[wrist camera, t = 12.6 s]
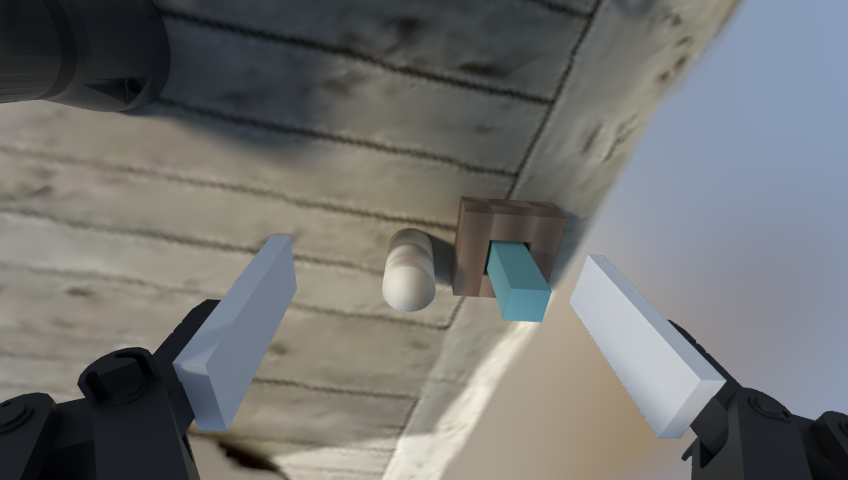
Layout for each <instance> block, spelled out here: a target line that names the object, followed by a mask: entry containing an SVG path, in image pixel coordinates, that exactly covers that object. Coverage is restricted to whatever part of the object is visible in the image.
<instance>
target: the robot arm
mask: <svg viewBox="0 0 848 480" xmlns="http://www.w3.org/2000/svg"><path fill="white" fill-rule="evenodd" d="M169 64H170V54H169V45H168V40H167V36H166V32H165V29H164V26H163V23H162V21H161V18H160V16H159V14H158V12H157V10H156V8H155V6H154V4H153V3H152V1H151V0H0V103H8V102H18V101H27V100H39V99H42V100H47V101H51V102H56V103H60V104H65V105H69V106H74V107H78V108H83V109H87V110H93V111H101V112H114V111H122V110H129V109H134V108H138V107H141V106H143V105H146V104H147V103H149V102H150V101H152V100H153V99H154V98H155V97H156V96H157V95H158V94H159V93H160V91H161V90H162V88H163V87H164V84H165V82H166V79H167V76H168V72H169ZM296 289H297V286H296V278H295V269H294V261H293V252H292V244H291V236H279V235H272V236H271V237H270V238H269V239H268V241H267V242H266V243H265V245H264V246H263V247H262V249H261V250H260V251H259V252H258V254H257V255H256V256H255V258H254V259H253V260H252V261H251V263H250V264H249V265H248V267H247V268H246V269H245V270H244V272H243V273H242V274H241V276H240V277H239V278H238V279H237V281H236V282H235V283H234V285H233V286H232V287H231V288H230V290H229V291H228V292H227V294H226V295H225V296H224V297H223V299H222V300H210V299H207V300H205V301H204V302H202V303H201V304H199V305H198V306H196V307H195V308H193V309H192V310H191V311H190V312H189V313H188V314H187V316H186V317H185V318H184V319H183V320H182V323H180V324H179V325H178V326H177V327H176V328H175V330H174V331H173V333H171V334H170V335H169V336H168V338H167V339H166V340H165V341H164V342H163V343H162V345H161V346H160V347H159V348H158V349H157V350H156V351H155V353H154V354H153V355H152V354H151V353H150V352H149V350H147V349H144V348H141V347H132V348H125V349H121V350H117V351H114V352H111V353H109V354H107V355H105V356H103V357H101V358H99V359H98V360H96V361H95V362H93V363H92V364H90V365H89V366H88V367H87V368H86V369H85V370H84V371H83V373H82V374H81V375H80V377H79V380H78V383H77V385H78V386H79V388H80V390H81V391H82V393H83V394H84V396H85V397H86V398H82V399H77V400H73V401H68V402H64V403H59V404H56V403H55V402H54V400H53V399H52V398H51V397H50V396H49V395H48V394H46V393H39V392H36V393H30V394H23V395H20V396H18V397H15V398H12V399H9V400H6V401H4V402H3V403H1V404H0V480H200V477H199V474H198V470H197V467H196V463H195V460H194V457H193V453H192V450H191V447H190V443H189V439H188V437H187V434H186V431H187V429H188V428H189V426H190V424H191V423H192V421H193V419H195V421H196V424H197V426H198V429H199V430H211V431H227V430H228V428H229V426H230V424H231V422H232V420H233V418H234V416H235V414H236V412H237V409H238V407H239V405H240V403H241V401H242V399H243V397H244V395H245V393H246V391H247V389H248V387H249V385H250V383H251V381H252V379H253V377H254V375H255V373H256V371H257V369H258V367H259V365H260V363H261V360H262V358H263V356H264V354H265V352H266V350H267V348H268V346H269V344H270V342H271V340H272V338H273V336H274V334H275V332H276V330H277V328H278V326H279V324H280V322H281V320H282V318H283V316H284V314H285V312H286V309H287V307H288V305H289V303H290V301H291V299H292V297H293V295H294V293H295V291H296ZM570 304H571V305H572V307H573V308H574V310H575V312H576V313H577V315H578V316H579V318H580V319H581V321H582V322H583V324H584V325H585V327H586V328H587V330H588V331H589V333H590V335H591V336H592V338H593V339H594V341H595V342H596V344H597V345H598V347H599V348H600V350H601V351H602V353H603V354H604V356H605V358H606V359H607V361H608V362H609V364H610V365H611V367H612V368H613V370H614V371H615V373H616V375H617V376H618V378H619V379H620V380H621V382H622V384H623V385H624V387H625V388H626V390H627V391H628V393H629V394H630V396H631V397H632V399H633V400H634V402H635V404H636V405H637V407H638V408H639V410H640V411H641V413H642V414H643V416H644V418H645V419H646V420H647V422H648V424H649V425H650V427H651V428H652V430H653V431H654V433H655V434H656V436H657V438H681V437H682V436H683V435H684V433H685V432H686V431H687V430H688V428H689V427H691V428H692V430H693V431H694V432H695V433H696V435H697V436H698V437H697V438H696V439H695V441H694V442H693V443H692V444H691V446H690V447H689V448H688V449H687V450H686V451H685V452H684V454H683V456H682V458H681V459H682V460H684V461H686V460H687V459H688V457H689V456H692V476H691V480H848V415H845V414H843V413H839V412H834V411H827V412H825V413H823V414H822V415H821V416H820V417H819V418H818V419H817V420H816V421H814V420H811V419H807V418H804V417H800V416H797V415H794V414H791V413H790V411H788V409H786V407H785V406H783V405H782V404H781V403H779V402H778V401H777V400H775V399H774V398H772V397H770V396H768V395H767V394H765V393H763V392H760V391H758V390H755V389H752V388H744V387H742V386H741V385H740V384H739V383H738V382H737V381H736V380H735V379H734V378H733V377H732V376H731V375H730V374H729V373H728V372H727V371H726V370H725V369H724V368H723V367H722V366H721V365H720V364H719V363H718V362H717V361H716V360H715V359H714V358H713V357H712V356H711V355H710V354H709V353H706V351H705V350H704V348H703V347H702V346H701V345H699V344H697V343H696V340H695V339H694V338H692V337H691V335H690V334H688V332H686V331H685V330H684V329H683V328H681V327H680V326H678V325H677V324H675V323H674V322H672V321H671V320H666V319H665V317H664V316H663V315H662V314H661V313H660V312H659V311H658V310H657V309H656V308H655V307H654V306H653V305H652V304H651V303H650V302H649V301H648V300H647V299H646V298H645V297H644V296H643V295H642V294H641V293H640V292H639V291H638V290H637V289H636V288H635V287H634V286H633V285H632V284H631V283H630V282H629V281H628V280H627V279H626V278H625V277H624V276H623V274H622V273H621V272H620V271H619V270H617V268H616V267H614V265H613V264H612V263H611V262H610V261H609V260H608V259H607V258H606V257H605V256H604V255H603V256H602V255H587V258H586V260H585V264H584V266H583V268H582V271H581V273H580V276H579V279H578V281H577V284H576V286H575V289H574V291H573V294H572V297H571V299H570Z"/></svg>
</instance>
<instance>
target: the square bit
mask: <svg viewBox="0 0 848 480" xmlns="http://www.w3.org/2000/svg"><path fill="white" fill-rule="evenodd" d="M485 265H486V268H487V271H488V274H489V277H490V280H491V283H492V286H493V289H494V292H495V295H496V298H497V301H498V304H499V307H500V310H501V313H502V316H503V319H504V320H510V321H529V322H542V320H543V317H544V313H545V310H546V307H547V304H548V301H549V298H550V295H551V292H552V291H551V289H550V287H549V286H548V284H547V282H546V280H545V279H544V277H543V275H542V274H541V272H540V270H539V269H538V267H537V265H536V263H535V262H534V260H533V258H532V257H531V255H530V253H529V251H528V250H527V248H526V246H525V245H524V243H523V242H518V241H502V240H490V242H489V247H488V252H487V257H486V262H485Z"/></svg>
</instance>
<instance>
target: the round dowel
mask: <svg viewBox="0 0 848 480" xmlns="http://www.w3.org/2000/svg"><path fill="white" fill-rule="evenodd" d="M382 293H383V297H384V299H385V300H386V302H387V303H388V304H389V305H390V306H392V307H393V308H395V309H397V310H400V311H405V312H413V311H418V310H421V309H423V308H425V307H426V306H428V305H429V304H430V303H431V302H432V300H433V298H434V296H435V277H434V263H433V248H432V242H431V240H430V238H429V237H428V235H427V234H426V233H424V232H423V231H421V230H418V229H413V228H408V229H403V230H401V231H399V232H397V233H396V234H395V235H394V236H393V237H392V239H391V241H390V245H389V250H388V256H387V262H386V268H385V274H384V280H383V286H382Z"/></svg>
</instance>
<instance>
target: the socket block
mask: <svg viewBox="0 0 848 480" xmlns="http://www.w3.org/2000/svg"><path fill="white" fill-rule="evenodd" d="M566 221H567V218H566V217H565V216H564V215H563V214H562V213H561V212H560V211H559V210H558V209H557V208H556V207H555V206H554V205H553V204H552V203H543V202H529V201H515V200H501V199H487V198H473V197H461V201H460V208H459V215H458V222H457V230H456V237H455V244H454V251H453V258H452V266H451V273H450V276H451V282H452V289H453V295H456V296H474V297H491V298H496V295H495V292H494V289H493V286H492V283H491V280H490V277H489V274H488V271H487V268H486V265H485V262H486V257H487V252H488V247H489V242H490V240H502V241H518V242H523V243H524V245H525V246H526V248H527V250H528V251H529V253H530V255H531V257H532V258H533V260H534V262H535V263H536V265H537V267H538V269H539V270H540V272H541V274H542V275H543V277H544V279H545V280H546V282H547V283H548V280H549V277H550V273H551V270H552V267H553V264H554V260H555V257H556V254H557V251H558V247H559V244H560V241H561V238H562V234H563V231H564V228H565V225H566Z"/></svg>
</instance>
